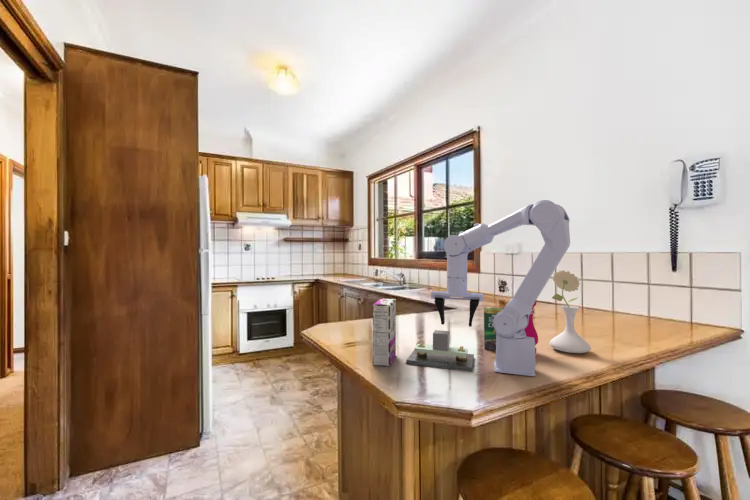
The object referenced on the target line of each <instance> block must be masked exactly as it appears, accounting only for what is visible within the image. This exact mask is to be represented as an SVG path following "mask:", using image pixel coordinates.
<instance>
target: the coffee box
mask: <svg viewBox="0 0 750 500" xmlns="http://www.w3.org/2000/svg"><path fill="white" fill-rule="evenodd" d="M504 308H505V307H504ZM504 308H502V307H500V308H499V307H489V306H485V307H484V308H483V334H484V335H483V340H484V341H483V342H484V346H483V347H484V348H483V349H484V350H487V351H495V352H496V332H497V331H496V330H495V328H494V326H493V319H494V317H495V315H496V314H497V313H499V312H501V311H502V310H503V309H504Z"/></svg>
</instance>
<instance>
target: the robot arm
mask: <svg viewBox="0 0 750 500" xmlns="http://www.w3.org/2000/svg"><path fill="white" fill-rule="evenodd" d="M567 213H568V212H567V211H566V210H565V208H564V207H563V206H561V205H560V204H558V203H555V202H553V201H551V200H548V199H542V200H539V201H537V202H535V203H534V204H533V203H532V204H528V205H526V206H524V207H522V208H520V209H518V210H516V211H514V212H512V213H511V214H508V215H507V216H504V217H503V218H501V219H498V220H496V221H495V222H493V223H490V224H486V223H484V222H483V223H479V222H477V223H475V224H473V227H471V228H469V229H467V230H465V231H464V230H463V231H462V230H461V231H459V232H458V235H457V234H450V235H449V236H448V237H446V238H445V240H444V241H443V250H444V251H445V253H446V291H432V290H431V292H430V299H431V300H432V299H433V300H434V305H435V306H436V308H437V311H438V314H439V317H440V323H441V325H445V324H446V323H445V322H446V320H445V305H446V304H445V303H446V302H445V301H446V300H458V301H469V317H468V320H469V321H468V327H469V328H470V327H471V328H472V326H473V325H472V324H473V320H474V316H475V314H476V311H477V308H478V306H479V304H480V302H484V293H478V292H477V293H476V292H468V255H469V254H470V252H472V251H475V250H477V249H478V248H479V249H480V248H482V247H484V246H486V245H488V244H491V243H492V242H493V240H494V237H495V236H498V235H501V234H503V233H506V232H508V231H511V230H513V229H516V228H518V227H521V226H536V228H537V230H539V232H540V234H541V237H542V239H543V241H544V245H543V246H542V248H541V250H540V252H538V254H537V256H536V258H535V260H534V261H533V263H532V265H531V266H530V269H529V270H528V272H527V273H526V275H525V277H524V278H523V280H522V282H521V283H520V285H519V287H518V289H517V290H516V292H515V293H514V295H513V297H512V298H511V299H510V301H508V302H507V304H506V305H505V306H504V309H503V310H502V311H501V312H499V313H497V314H496V315H495V317H494V319H493V326H494V328H495V330H496V331H497V332H496V351H495V360H494V362H493V368H494V369H493V370H494V371H493V372H495V373H500V374H501V373H502V374H509V375H510V374H511V375H512V374H513V375H517V376H518V375H519V376H525V377H536V365H537V363H536V355H535V348H536V345H535V340H534V338H533V337H527V336H526V333H525V331H524V329H525V328H526V327H527V325H528V322H529V315H530V313H531V311H532V306H533V304H534V303H535V301H538V298H539V296H540V294H541V293H542V292H543V290H544V289H545V287H546V285H547V283H548V282H549V280H550V278H551V277H552V275H554V272H555V271H556V269H557V267H558V266H559V264H560V263H561V261H562V259H563V257H564V256H565V254H566V253H567V251H568V249H569V248H570V246H571V235H570V217H569V214H567Z"/></svg>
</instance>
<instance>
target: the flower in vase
mask: <svg viewBox="0 0 750 500" xmlns="http://www.w3.org/2000/svg"><path fill="white" fill-rule="evenodd" d="M552 277H553V278H552V281H553V282H554V284H555V286H557V287H558V288H559V289H560V290H561V294H559V293H555V294H554V295H553V296H552V297H551V299H553V300H556V301H558V302H562V301H564V302H565V304H566V305H561V306H560V307H561V309H562V311H563V312H564V316H565V328H564V330H563V331H562V332H561V333H559V334H557V335H556V336H554V337H553V338H552V339H550V341H549V345H550V347H551V348H553V349H555V350H557V351H560V352H564V353H570V354H571V353H572V354H585V353H588V352H590V351H591V350H592V347H591V345H590V344H589V343H588V342H587V341H586V339H585V338H583V337H582V336H581V335H579V333H578V332H576V330H575V318H576V313H577V312H578V311H579V309H580V307H579V306H577V305H569V304H568V303H570V302H572V301H575V300H577V299H579V296H577V297H574V298H570V300H568V301H567V300H566V298H565V295H564V291H565V292H568V293H569V292H570V293H571V292H575V291H578V290H579V287H580V284H581V283H580V281H579V280H578V277H577V276H575V274H574V273H571V272H570V271H568V270H567V271H566V270H563V269H562V270H559V271H555V273H554V272H553V276H552Z"/></svg>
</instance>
